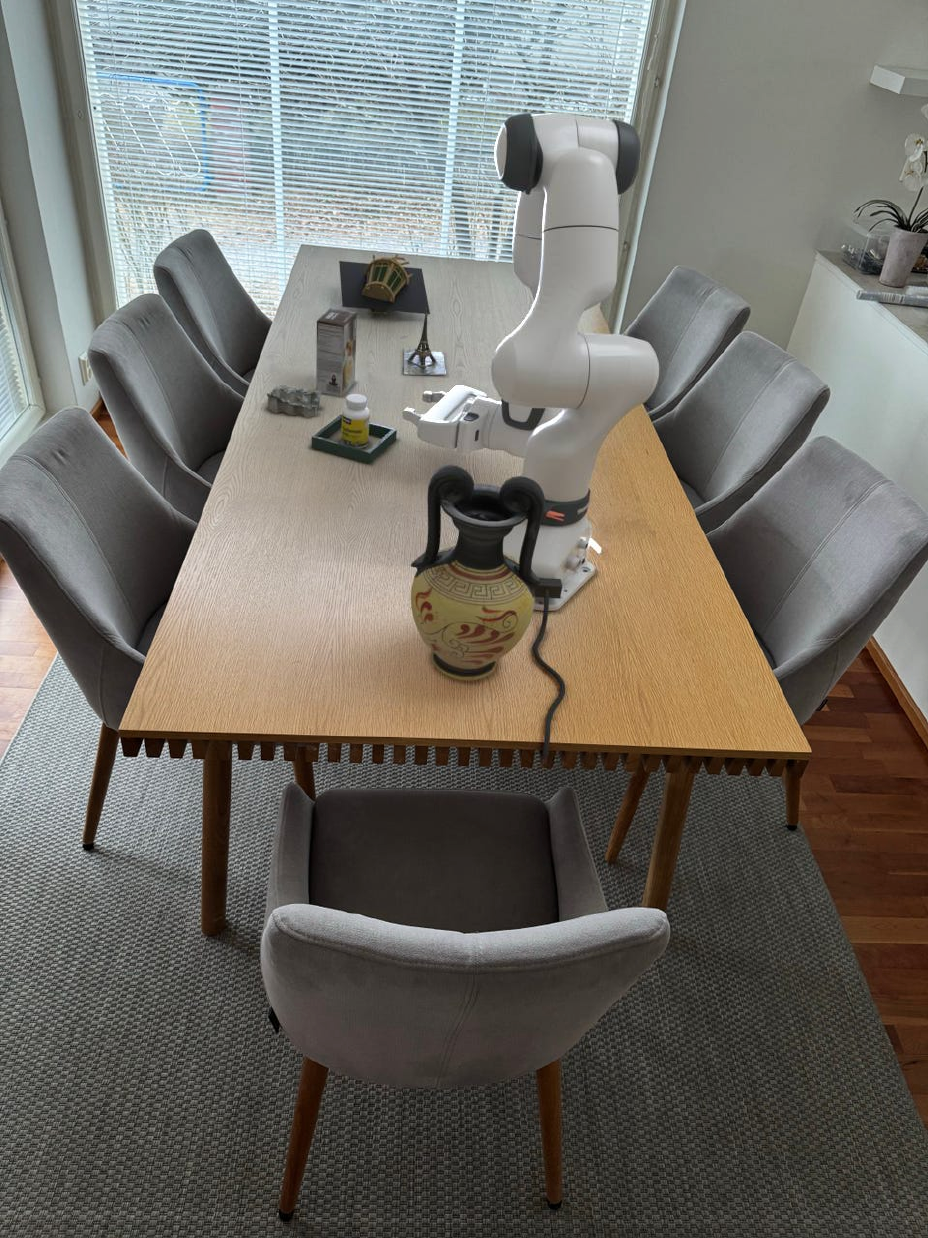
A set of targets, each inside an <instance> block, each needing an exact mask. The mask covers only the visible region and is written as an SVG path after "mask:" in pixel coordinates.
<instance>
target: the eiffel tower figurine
mask: <svg viewBox="0 0 928 1238" xmlns="http://www.w3.org/2000/svg"><path fill="white" fill-rule="evenodd" d="M428 315H429V314H428V313H427V309H426V313H425V314H424V320H423V327H422V332H421V337H420V339H419V343H418V345H417V347H416V348H414V349H413V348H403V364H404V365H403V375H409V376H411V375H415V376H417V375H418V376H425V375H426V376H427V375H447V371H446V369H447V368H446V363H445V355H444V352H442V351H432V349H431V348H430V345H429V340H428Z"/></svg>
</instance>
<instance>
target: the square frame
mask: <svg viewBox="0 0 928 1238" xmlns="http://www.w3.org/2000/svg"><path fill="white" fill-rule="evenodd" d="M340 430H342V413H341V414H340V415H338V416H336V418H334V419H333V420H332V421H330V422H329V423H327V424H326V425H325V426H324V427H322V428H321V429H320V430H319V431H317V432H316V433H315V434H313V435H312V436H311V449H314V450H317V451H321V452H325V453H327V454H331V455H336V456H339V457H341V458H346V459H349V460H354V461H357V462H360V463H364V464H367V465H371V464H372V463H373V462H374V461H375V460H376V459H377V458H378V457H379V456H381V455H382V454H383V453H384V452H385V451H386V450H387V449H388V448H389V447H390V446H392V445H393V443H395V442H396V441H397V434H398V429H397V428H394V427H390V426H386V425H382V424H379V423H375V422H372V421H369V436H373V437H378V438H380V440H377V442H376V443H375V444H374V445H373V446H372V447H370V448H369V449H368V450H367V449H364V448H362V449H361V448H357V447H353V446H350V445H346V444H342V443H341V442H339V441H335V440H331V439H330V438H331V437H333V435H335V434H336V433H337V432H338V431H340Z"/></svg>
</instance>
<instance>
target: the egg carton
mask: <svg viewBox="0 0 928 1238" xmlns="http://www.w3.org/2000/svg"><path fill="white" fill-rule="evenodd" d="M321 396H322V393H321V390H318V391H316V389H314V390H311V389H307V390H306V388H304V387H303V388H298V387H290V386H287V385H286V384H285V385H284V384H281V385H277V386H275V387H273V388H272V390H271V391H270V393H269V392H267V393H266V397H267V409H268V410H269V411H271V412H272V413H274V414H278V413H280V412H281V413H287V414H288V415H289V416H295V415H302V416H303V417H304V418H311V417H316V416H317V414H318V409H320V408H321Z"/></svg>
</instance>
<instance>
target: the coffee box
mask: <svg viewBox="0 0 928 1238" xmlns="http://www.w3.org/2000/svg"><path fill="white" fill-rule="evenodd" d="M357 328H358V312H357V311H356V312H355V311H349V310H345V309H344V310H343V309H338V308H337V309H336V308H328V310H327V311H325V313H323V314H322V315H321V316H320V317H319V318H318V319H317V320H316V356H315V357H316V360H315V361H316V363H315V364H316V366H315V367H316V369H315V370H316V371H315V372H316V373H315V374H316V375H315V385H316V386H315V391H318V390H321V394H325V395H332V396H336V397H344V395H345V394H347V392H348V391H349V390H350V388H351V387H352V386H353V385H354V383H355V382H356V355H357V354H356V353H357Z"/></svg>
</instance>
